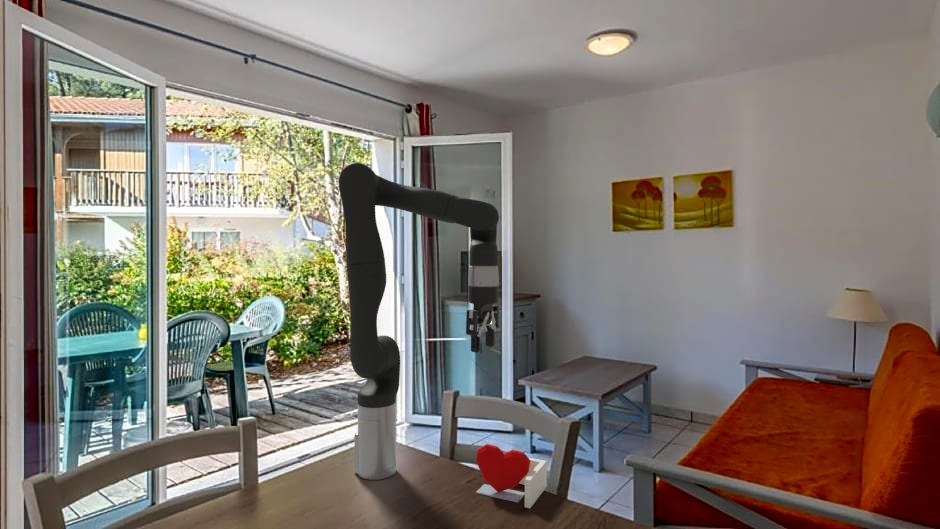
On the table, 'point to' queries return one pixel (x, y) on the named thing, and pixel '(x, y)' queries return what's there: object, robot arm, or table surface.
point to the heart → (502, 466)
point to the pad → (501, 493)
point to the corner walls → (534, 481)
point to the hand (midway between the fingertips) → (483, 349)
